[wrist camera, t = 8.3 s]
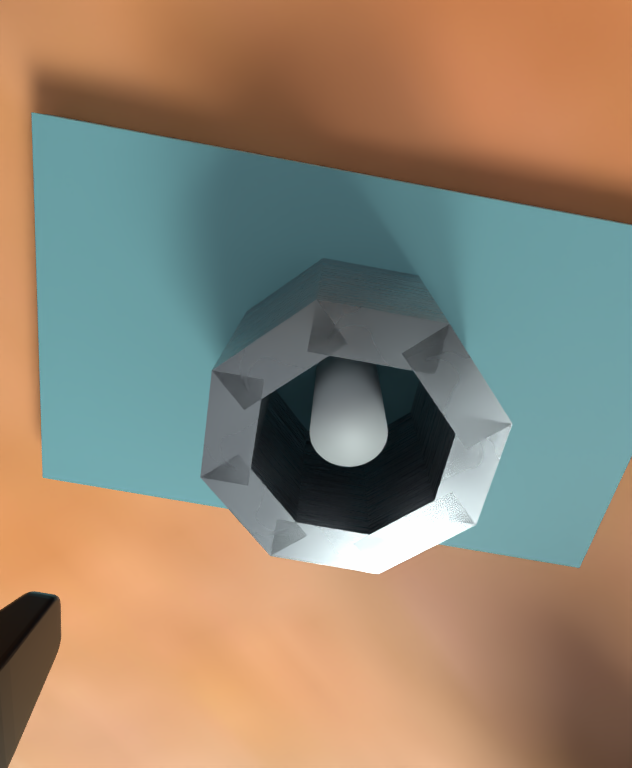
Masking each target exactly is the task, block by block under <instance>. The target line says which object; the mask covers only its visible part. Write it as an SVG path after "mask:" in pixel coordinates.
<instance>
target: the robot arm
mask: <svg viewBox="0 0 632 768" xmlns="http://www.w3.org/2000/svg"><path fill="white" fill-rule="evenodd" d="M60 641H61V604H60V599H59V597H58V596H56V595H53V594H47V593H41V592H28V593H26V594H24V595H22V596H21V597H19V598H18V599H16V600H15V601H13V602H12V603H10V604H9V605H7V606H6V607H4V608H3V609H1V610H0V768H8V766H9V764H10V762H11V759H12V757H13V755H14V753H15V751H16V748H17V746H18V744H19V741H20V739H21V737H22V734H23V732H24V730H25V727H26V725H27V723H28V720H29V718H30V716H31V713H32V711H33V709H34V706H35V704H36V702H37V699H38V697H39V695H40V692H41V690H42V688H43V685H44V683H45V681H46V678H47V676H48V674H49V671H50V669H51V667H52V664H53V662H54V660H55V657H56V655H57V652H58V649H59V646H60Z"/></svg>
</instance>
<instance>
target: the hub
mask: <svg viewBox="0 0 632 768" xmlns="http://www.w3.org/2000/svg"><path fill="white" fill-rule="evenodd" d="M328 356H334V357H340V358H345V359H351V360H356V361H362V362H367V363H373V364H378V365H384V366H390V367H395V368H401V369H406V370H412V371H414V373H415V374H416V375H417V377H418V378H419V383H418V386H417V390H416V394H415V397H414V401H413V405H412V408H411V412H410V413H408V414H406V415H404V416H403V417H401V418H399V419H397V420H396V421H394V422H392V423H391V424H389V425H387V428H388V436H387V441H386V444H385V446H384V448H383V449H382V451H381V452H380V453H379V454H378V456H376V457H375V458H374V459H372V460H371V461H369V462H367V463H365V464H362V465H359V466H352V467H345V466H339V465H335V464H332V463H330V462H328V461H326V460H325V459H323V458H322V457H321V456H320V455H319V454H318V453H317V452H316V450H315V449H314V447H313V445H312V443H311V439H310V431H308V430H307V429H306V428H305V427H304V426H303V424H302V423H301V422H300V421H299V419H298V418H297V417H296V415H295V414H294V413H293V412H292V410H291V409H290V408H289V407H288V405H287V404H286V403H285V401H284V400H283V399H282V398H281V396H280V395H279V394H278V392H277V391H276V389H278V388H280V387H281V386H283V385H284V384H286V383H287V382H289V381H291V380H292V379H294V378H295V377H297V376H298V375H300V374H301V373H303V372H305V371H306V370H308V369H309V368H311V367H312V366H314V365H316V364H317V363H319V362H320V361H322V360H323V359H325V358H326V357H328ZM511 427H512V422H511V421H510V419H509V418H508V416H507V414H506V413H505V411H504V410H503V408H502V406H501V405H500V403H499V402H498V400H497V398H496V397H495V395H494V394H493V392H492V390H491V389H490V387H489V386H488V384H487V383H486V381H485V379H484V378H483V376H482V375H481V373H480V371H479V370H478V368H477V367H476V365H475V363H474V362H473V360H472V359H471V357H470V355H469V354H468V352H467V351H466V349H465V347H464V346H463V344H462V343H461V341H460V339H459V338H458V336H457V335H456V333H455V331H454V330H453V328H452V327H451V325H450V323H449V322H448V320H447V319H446V317H445V316H444V314H443V313H442V311H441V309H440V308H439V306H438V305H437V303H436V302H435V300H434V299H433V297H432V295H431V294H430V292H429V291H428V289H427V288H426V286H425V285H424V283H423V281H422V280H421V278H420V277H419V275H413V274H408V273H403V272H397V271H392V270H387V269H381V268H376V267H370V266H365V265H360V264H354V263H349V262H344V261H338V260H333V259H327V258H322V259H321V260H319V261H318V262H317V263H315V264H314V265H312V266H311V267H309V268H308V269H307V270H305V271H304V272H302V273H301V274H299V275H298V276H297V277H295V278H294V279H292V280H291V281H289V282H288V283H286V284H285V285H284V286H282V287H281V288H279V289H278V290H276V291H275V292H274V293H272V294H271V295H269V296H268V297H266V298H265V299H264V300H262V301H261V302H259V303H258V304H256V305H255V306H254V307H252V308H251V309H249V310H248V311H247V312H246V313H245V315H244V317H243V318H242V320H241V322H240V323H239V325H238V327H237V328H236V330H235V332H234V334H233V335H232V337H231V339H230V340H229V342H228V344H227V345H226V347H225V349H224V351H223V352H222V354H221V356H220V357H219V359H218V361H217V362H216V364H215V366H214V367H213V369H212V373H211V382H210V392H209V401H208V410H207V419H206V429H205V438H204V447H203V456H202V466H201V475H200V478H201V479H202V480H203V481H204V482H205V483H206V484H207V486H208V487H209V488H210V489H211V490H212V491H213V492H214V493H215V495H216V496H217V497H218V498H219V499H220V500H221V501H222V502H223V503H224V505H225V506H226V507H227V508H228V509H229V510H230V511H231V512H232V514H233V515H234V516H235V517H236V518H237V519H238V520H239V521H240V522H241V524H242V525H243V526H244V527H245V528H246V529H247V530H248V531H249V533H250V534H251V535H252V536H253V537H254V538H255V539H256V540H257V541H258V543H259V544H260V545H261V546H262V547H263V548H264V549H265V550H266V552H267V553H268V554H269V555H270V556H274V557H280V558H286V559H292V560H298V561H304V562H310V563H316V564H322V565H328V566H334V567H340V568H345V569H351V570H357V571H363V572H369V573H375V574H379V573H381V572H383V571H385V570H387V569H389V568H391V567H393V566H395V565H397V564H399V563H401V562H403V561H405V560H407V559H409V558H411V557H413V556H415V555H417V554H419V553H421V552H423V551H425V550H427V549H429V548H431V547H433V546H435V545H437V544H439V543H441V542H443V541H445V540H447V539H449V538H451V537H453V536H455V535H457V534H459V533H461V532H463V531H465V530H467V529H469V528H471V527H473V526H475V525H476V524H477V521H478V518H479V516H480V513H481V510H482V507H483V505H484V502H485V499H486V496H487V493H488V491H489V488H490V485H491V482H492V480H493V477H494V474H495V471H496V469H497V466H498V463H499V460H500V457H501V455H502V452H503V449H504V446H505V444H506V441H507V438H508V435H509V432H510V430H511Z"/></svg>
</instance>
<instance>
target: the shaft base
mask: <svg viewBox="0 0 632 768" xmlns="http://www.w3.org/2000/svg"><path fill="white" fill-rule="evenodd" d="M32 143H33V176H34V208H35V241H36V273H37V306H38V338H39V371H40V403H41V436H42V468H43V478H48V479H54V480H60V481H66V482H72V483H78V484H84V485H90V486H96V487H102V488H108V489H113V490H119V491H125V492H131V493H137V494H143V495H149V496H155V497H161V498H167V499H173V500H179V501H185V502H191V503H197V504H203V505H209V506H215V507H220V508H226V509H228V508H227V507H226V506H225V505H224V503H223V502H222V501H221V500H220V499H219V498H218V497H217V496H216V495H215V493H214V492H213V491H212V490H211V489H210V488H209V487H208V486H207V484H206V483H205V482H204V481H203V480H202V479H201V478H200V475H201V466H202V456H203V447H204V438H205V429H206V419H207V410H208V401H209V392H210V382H211V373H212V369H213V367H214V366H215V364H216V362H217V361H218V359H219V357H220V356H221V354H222V352H223V351H224V349H225V347H226V345H227V344H228V342H229V340H230V339H231V337H232V335H233V334H234V332H235V330H236V328H237V327H238V325H239V323H240V322H241V320H242V318H243V317H244V315H245V313H246V312H247V311H248V310H249V309H251V308H252V307H254V306H255V305H256V304H258V303H259V302H261V301H262V300H264V299H265V298H266V297H268V296H269V295H271V294H272V293H274V292H275V291H276V290H278V289H279V288H281V287H282V286H284V285H285V284H286V283H288V282H289V281H291V280H292V279H294V278H295V277H297V276H298V275H299V274H301V273H302V272H304V271H305V270H307V269H308V268H309V267H311V266H312V265H314V264H315V263H317V262H318V261H319V260H321V259H322V258H327V259H333V260H338V261H344V262H349V263H354V264H360V265H365V266H370V267H376V268H381V269H387V270H392V271H397V272H403V273H408V274H413V275H419V277H420V278H421V280H422V281H423V283H424V285H425V286H426V288H427V289H428V291H429V292H430V294H431V295H432V297H433V299H434V300H435V302H436V303H437V305H438V306H439V308H440V309H441V311H442V313H443V314H444V316H445V317H446V319H447V320H448V322H449V323H450V325H451V327H452V328H453V330H454V331H455V333H456V335H457V336H458V338H459V339H460V341H461V343H462V344H463V346H464V347H465V349H466V351H467V352H468V354H469V355H470V357H471V359H472V360H473V362H474V363H475V365H476V367H477V368H478V370H479V371H480V373H481V375H482V376H483V378H484V379H485V381H486V383H487V384H488V386H489V387H490V389H491V390H492V392H493V394H494V395H495V397H496V398H497V400H498V402H499V403H500V405H501V406H502V408H503V410H504V411H505V413H506V414H507V416H508V418H509V419H510V421H511V422H512V427H511V430H510V432H509V435H508V438H507V441H506V444H505V446H504V449H503V452H502V455H501V457H500V460H499V463H498V466H497V469H496V471H495V474H494V477H493V480H492V482H491V485H490V488H489V491H488V493H487V496H486V499H485V502H484V505H483V507H482V510H481V513H480V516H479V518H478V521H477V524H476V525H475V526H473V527H471V528H469V529H467V530H465V531H463V532H461V533H459V534H457V535H455V536H453V537H451V538H449V539H447V540H445V541H443V542H441V543H439V544H440V545H446V546H452V547H458V548H464V549H470V550H476V551H482V552H488V553H494V554H500V555H506V556H512V557H518V558H524V559H530V560H535V561H541V562H547V563H553V564H559V565H565V566H571V567H577V568H580V566H581V563H582V561H583V559H584V557H585V555H586V553H587V551H588V549H589V546H590V544H591V542H592V540H593V538H594V536H595V534H596V531H597V529H598V527H599V525H600V523H601V521H602V519H603V516H604V514H605V512H606V510H607V508H608V506H609V504H610V502H611V499H612V497H613V495H614V493H615V491H616V489H617V487H618V484H619V482H620V480H621V478H622V476H623V474H624V472H625V469H626V467H627V465H628V463H629V461H630V459H631V457H632V224H627V223H622V222H616V221H611V220H606V219H600V218H595V217H590V216H585V215H579V214H574V213H569V212H563V211H558V210H553V209H547V208H542V207H537V206H532V205H526V204H521V203H516V202H510V201H505V200H500V199H494V198H489V197H484V196H478V195H473V194H468V193H463V192H457V191H452V190H447V189H441V188H436V187H431V186H425V185H420V184H415V183H410V182H404V181H399V180H394V179H388V178H383V177H378V176H372V175H367V174H362V173H356V172H351V171H346V170H341V169H335V168H330V167H325V166H319V165H314V164H309V163H303V162H298V161H293V160H287V159H282V158H277V157H272V156H266V155H261V154H256V153H250V152H245V151H240V150H234V149H229V148H224V147H219V146H213V145H208V144H203V143H197V142H192V141H187V140H181V139H176V138H171V137H165V136H160V135H155V134H150V133H144V132H139V131H134V130H128V129H123V128H118V127H112V126H107V125H102V124H97V123H91V122H86V121H81V120H75V119H70V118H65V117H59V116H54V115H47V114H39V113H32ZM418 383H419V378H418V377H417V375H416V374H415V373H414V371H412V370H406V369H401V368H395V367H390V366H384V365H378V364H373V363H367V362H362V361H356V360H351V359H345V358H340V357H334V356H328V357H326V358H325V359H323V360H322V361H320V362H319V363H317V364H316V365H314V366H312V367H311V368H309V369H308V370H306V371H305V372H303V373H301V374H300V375H298V376H297V377H295V378H294V379H292V380H291V381H289V382H287V383H286V384H284V385H283V386H281V387H280V388H278V389H276V391H277V392H278V394H279V395H280V396H281V398H282V399H283V400H284V401H285V403H286V404H287V405H288V407H289V408H290V409H291V410H292V412H293V413H294V414H295V415H296V417H297V418H298V419H299V421H300V422H301V423H302V424H303V426H304V427H305V428H306V429H307V430H308V431H310V439H311V443H312V445H313V447H314V449H315V450H316V452H317V453H318V454H319V455H320V456H321V457H322V458H323V459H325V460H326V461H328V462H330V463H332V464H335V465H339V466H345V467H352V466H359V465H362V464H365V463H367V462H369V461H371V460H372V459H374V458H375V457H376V456H378V454H379V453H380V452H381V451H382V449H383V448H384V446H385V444H386V441H387V436H388V428H387V425H389V424H391V423H392V422H394V421H396V420H397V419H399V418H401V417H403V416H404V415H406V414H408V413H410V412H411V408H412V405H413V401H414V397H415V394H416V390H417V386H418Z"/></svg>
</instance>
